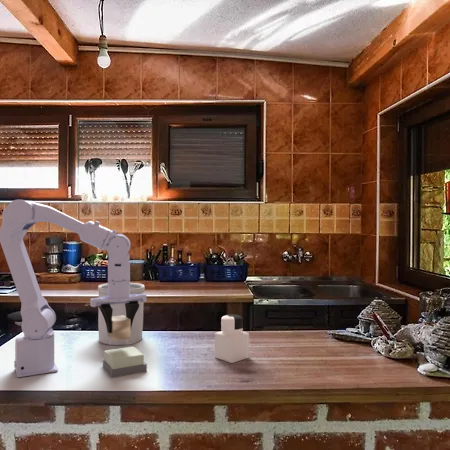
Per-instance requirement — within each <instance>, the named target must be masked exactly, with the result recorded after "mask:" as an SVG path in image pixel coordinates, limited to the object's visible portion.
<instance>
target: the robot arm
mask: <svg viewBox="0 0 450 450" xmlns="http://www.w3.org/2000/svg"><path fill="white" fill-rule="evenodd" d="M41 222H42V223H44V222H45V223H51V224H53V225H56V226H59V227H61V228H63V229H66V230H68V231H70V232H73V233H75V234H77V235H78V237H79V239H80V241H82V242H83V243H86V244H87V245H89V246H92V247H95V248H97V249H98V250H101V251H106V252H107V254H108V263H107V283H108V296H104V297H99V296H98V297H92V298H90V301H89V303H90V304H89V306H90V307H92V308H96V307H98V309H99V308H100V310H101V312H102V315H103V317H104V320H105V323H106V327H107V332H108V333H112V312H113V309H112V308H111V306H110V305H113V304H123V303H125V307H126V317H127V318H129V319H131V327H132V323H133V319H134V317H135V314H136V312H137V310H138V308H139V304H138V302H144V303H146V302H147V294H145V293H144V294H130V283H131V262H130V260H131V258H130V257H131V256H130V253H129V252H130V250H131V240H130V239H129V238H128V237H127V236H126V235H125V234H123V233H117V232H118V231H117V230H116V229H113V230H112V229H109V228H107V227H105V226H104V225H103V226H102V225H101V222H100V221H97V220H95V221H92V220H89V221H87V222H83V221H80V220H78V219H76V218H74V217H72V216H70V215H68V214H66V213H64V212H62V211H61V210H58V209H56V208H54V207H52V206H49V205H46V204H42V203H38V202H36V201H34V200H25V199H14V200H12V201H10V202H9V203H8V205H7V206H6V207H5V209H3V211H2V221H1V224H0V245H1V249H2V251H3V254H4V257H5V260H6V262H7V266H8V268H9V271H10V274H11V278H12V280H13V282H14V285H15V289H16V291H17V293H18V294H17V295H18V297H19V300H20V302H21V303H20V304H21V308H20V315H21V319H22V321H21V331H22V333H23V334H24V335H23V336H21V337H17V338H15V340H14V341H15V342H14V343H15V344H14V349H15V350H14V352H15V353H14V357H15V358H14V362H13V363H14V365H13V366H14V369H15V373H16V377H17V378H24V377H29V376H35V375H43V374H48V373H53V372H58V371H59V368H58V367H57V364H56V363H55V331H54V329H53V326H54V325H55V323H56V320H57V315H56V312H55V311H54V309H52V307H51V306H50V305H49V303H48V300H47V299H46V298H45V297H44V296H43V294H42V292H41V288H40V286H39V283H38V280H37V276H36V274H35V272H34V268H33V265H32V263H31V259H30V256H29V253H28V251H27V247H26V245H25V243H24V238H25V236H26V235H27V233H28V231H29V230H30V229H31V228H32V227H33V226H35V224H36V223H41Z"/></svg>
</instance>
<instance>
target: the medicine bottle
mask: <svg viewBox="0 0 450 450" xmlns="http://www.w3.org/2000/svg"><path fill="white" fill-rule="evenodd" d="M220 320H221V321H220V325H221V328H220V330H221V331H218V332H214V358H215V359H219V360H222V361H224V362H227V363H230V364H233V363H236V362H237V363H238V362H240V361H243V360H247V359H249V358H250V333H249V332H247V331H244V329H243V327H244V325H243V323H244V321H243V316H241V315H239V314H231V313H230V314H225V315H223V316H222V317H221V319H220Z"/></svg>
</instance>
